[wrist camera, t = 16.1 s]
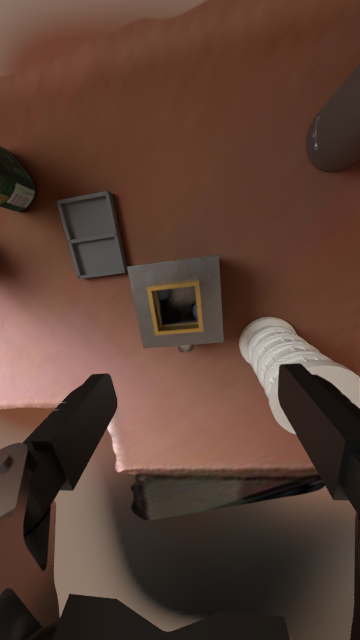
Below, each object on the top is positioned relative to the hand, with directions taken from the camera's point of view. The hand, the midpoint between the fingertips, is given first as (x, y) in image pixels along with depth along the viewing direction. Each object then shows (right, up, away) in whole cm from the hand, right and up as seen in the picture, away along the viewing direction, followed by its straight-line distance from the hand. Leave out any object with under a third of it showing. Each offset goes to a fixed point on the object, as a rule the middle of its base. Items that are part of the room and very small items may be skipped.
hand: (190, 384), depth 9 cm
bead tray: (-17, +19, +27) cm, 37 cm away
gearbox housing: (0, +7, +30) cm, 30 cm away
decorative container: (+18, -2, +31) cm, 36 cm away
